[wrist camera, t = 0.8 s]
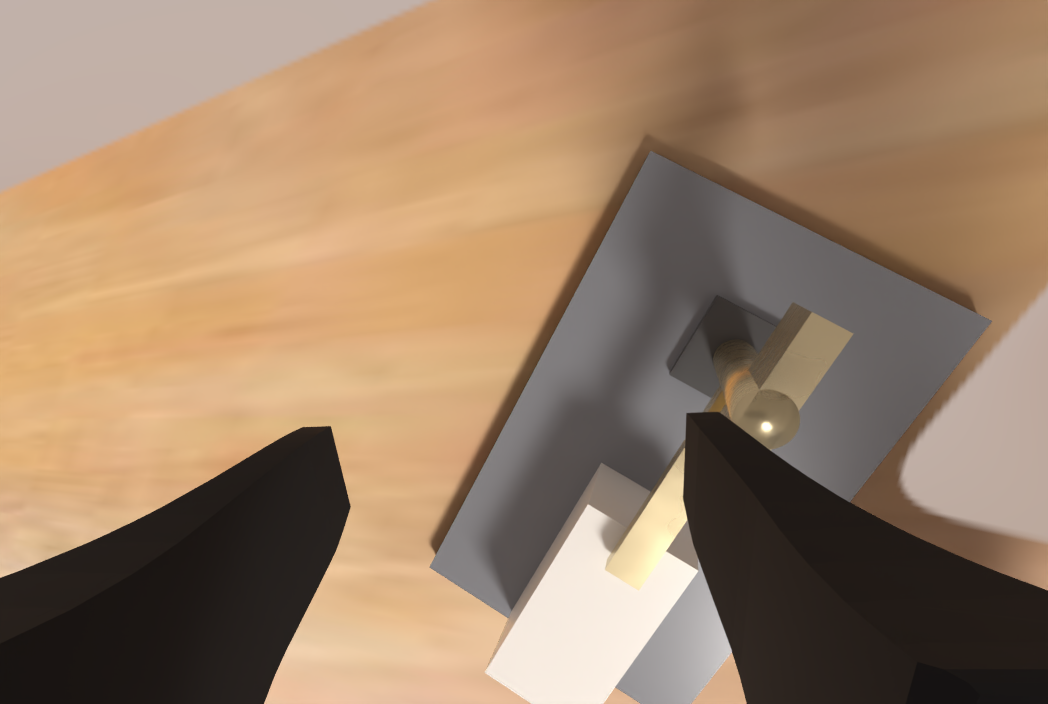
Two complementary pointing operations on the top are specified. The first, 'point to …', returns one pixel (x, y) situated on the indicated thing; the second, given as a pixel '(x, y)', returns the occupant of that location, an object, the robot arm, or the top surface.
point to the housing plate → (694, 388)
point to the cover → (588, 603)
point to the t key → (751, 403)
